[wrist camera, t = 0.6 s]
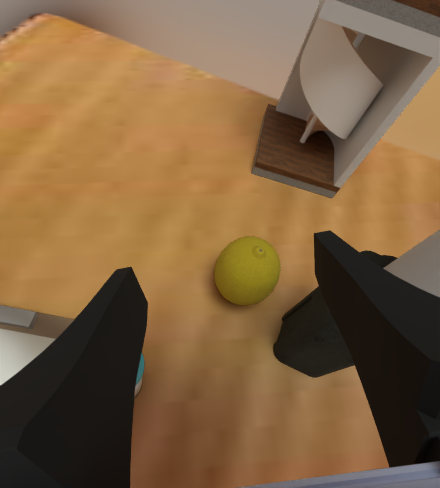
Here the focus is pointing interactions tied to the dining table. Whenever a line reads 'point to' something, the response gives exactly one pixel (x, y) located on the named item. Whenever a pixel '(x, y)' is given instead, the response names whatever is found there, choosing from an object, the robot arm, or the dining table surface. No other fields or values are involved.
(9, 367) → the clipboard
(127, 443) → the robot arm
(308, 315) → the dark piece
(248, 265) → the lemon
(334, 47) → the white tiered tower model
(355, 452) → the dining table surface
